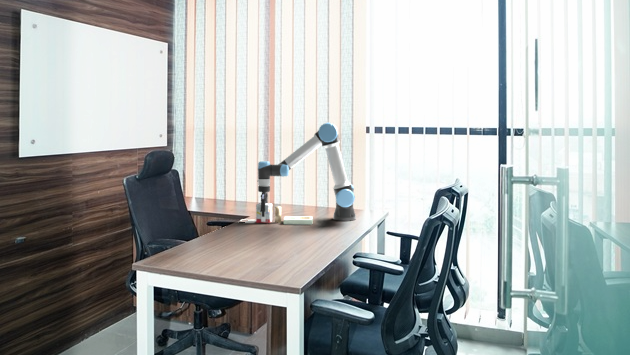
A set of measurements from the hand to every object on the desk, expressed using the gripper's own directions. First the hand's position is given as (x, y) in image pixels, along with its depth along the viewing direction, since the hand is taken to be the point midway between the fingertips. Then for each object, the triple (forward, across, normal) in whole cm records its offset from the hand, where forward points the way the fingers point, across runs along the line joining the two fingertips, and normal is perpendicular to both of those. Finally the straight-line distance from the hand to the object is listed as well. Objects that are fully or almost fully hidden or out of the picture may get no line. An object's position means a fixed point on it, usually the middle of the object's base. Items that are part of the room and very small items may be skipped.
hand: (264, 220), depth 312 cm
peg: (+1, +2, +9) cm, 9 cm away
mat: (+1, -1, -11) cm, 11 cm away
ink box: (+1, 0, 0) cm, 1 cm away
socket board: (+1, +2, +22) cm, 22 cm away
